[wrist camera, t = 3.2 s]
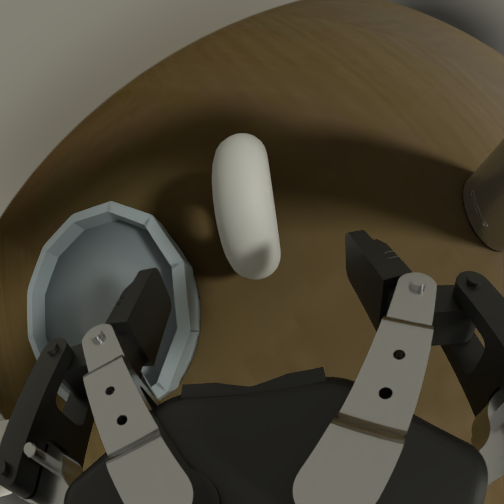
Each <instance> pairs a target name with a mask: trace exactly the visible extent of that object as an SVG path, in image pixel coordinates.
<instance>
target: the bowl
mask: <svg viewBox="0 0 504 504" xmlns="http://www.w3.org/2000/svg"><path fill="white" fill-rule="evenodd" d="M150 268H157V269H158V270H159V272H160V274H161V277H162V279H163V282H164V284H165V287H166V289H167V291H168V294H169V296H170V299H171V312H170V315H169V318H168V321H167V324H166V327H165V331H164V334H163V337H162V340H161V344H160V347H159V350H158V354H157V357H156V361H155V364H154V366H143V367H142V370H141V371H142V373H143V374H144V376H145V377H146V379H147V381H148V383H149V384H150V386H151V388H152V390H153V391H154V393H155V395H156V396H157V398H158V400H159V401H160V400H162V399H163V398H165V397H166V396H167V395H168V394H170V393H171V392H172V391H174V390H175V389H177V388H178V385H179V383H180V382H181V380H182V379H183V377H184V376H185V374H186V373H187V371H188V369H189V367H190V365H191V362H192V360H193V358H194V355H195V351H196V348H197V345H198V340H199V334H200V325H201V305H200V296H199V291H198V285H197V282H196V279H195V276H194V272H193V268H192V266H191V265H190V263H189V261H188V259H187V258H186V256H185V254H184V253H183V251H182V249H181V248H180V247H179V246H178V244H177V243H176V242H175V241H174V239H172V238H171V236H170V235H169V234H168V232H167V231H166V229H165V228H164V226H163V225H162V224H161V223H160V222H159V221H158V220H157V219H156V218H155V217H154V216H153V215H151V214H148V213H145V212H142V211H139V210H136V209H133V208H130V207H127V206H124V205H121V204H119V203H116V202H113V201H110V202H107V203H104V204H100V205H97V206H95V207H92V208H89V209H86V210H83V211H80V212H77V213H75V214H73V215H71V216H70V217H69V218H68V219H67V220H66V222H65V223H64V224H63V225H62V226H61V227H60V228H59V229H58V230H57V231H56V232H55V233H54V235H53V236H52V237H51V238H50V239H49V240H48V241H47V243H46V244H45V245H44V246H43V248H42V251H41V253H40V256H39V258H38V261H37V264H36V266H35V269H34V272H33V275H32V278H31V281H30V284H29V287H28V292H27V321H28V338H29V342H30V344H31V347H32V350H33V352H34V355H35V357H36V360H38V358H39V356H40V354H41V352H42V350H43V349H44V347H45V346H46V345H47V344H48V343H49V342H51V341H52V340H54V339H56V338H64V339H65V340H66V341H67V343H68V344H69V346H70V347H72V346H75V345H78V344H81V343H82V340H83V337H84V336H85V334H86V333H87V332H88V331H89V330H90V329H92V328H93V327H95V326H97V325H100V324H105V323H106V321H107V319H108V317H109V315H110V313H111V312H112V310H113V308H114V306H115V305H116V303H117V301H118V299H120V298H119V297H120V296H121V294H122V292H123V291H124V289H125V288H127V287H128V286H129V285H130V284H131V283H132V282H133V281H134V279H135V277H136V275H137V274H138V272H139V271H140V270H144V269H150ZM57 393H58V394H59V395H60V396H61V397H62V398H63V399H64V400H65V401H66V402H67V399H68V396H69V394H70V391H69V390H68V389H67V388H66V387H65V386H64V385H63V383H61V385H60V387H59V390H58V392H57Z"/></svg>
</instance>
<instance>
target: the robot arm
mask: <svg viewBox="0 0 504 504" xmlns="http://www.w3.org/2000/svg"><path fill="white" fill-rule="evenodd" d="M463 200H464V206H465V210H466V213H467V216H468V219H469V221H470V223H471V225H472V227H473V229H474V231H475V232H476V234H477V235H478V236H479V238H480V239H481V240H482V241H483V242H484V243H485V244H486V245H487V246H488V247H490V248H491V249H493V250H496V251H504V139H503V140H502V141H501V142H500V144H499V145H498V146H497V147H496V148H495V150H494V151H493V152H492V153H491V154H490V155H489V156H488V158H487V159H486V160H485V161H484V162H483V163H482V164H481V165H480V166H479V168H478V169H477V170H476V171H475V172H474V173H473V174H472V175H471V176H470V177H469V178H468V179H467V181H466V183H465V185H464V190H463ZM345 246H346V271H347V275H348V279H349V281H350V283H351V284H352V286H353V288H354V290H355V292H356V293H357V295H358V297H359V299H360V301H361V303H362V305H363V306H364V308H365V310H366V312H367V314H368V316H369V318H370V320H371V322H372V324H373V326H374V328H375V330H376V332H377V333H376V336H375V338H374V341H373V343H372V345H371V348H370V350H369V352H368V355H367V357H366V359H365V361H364V364H363V366H362V368H361V370H360V372H359V375H358V377H357V379H356V381H352V380H348V379H344V378H338V377H325V373H324V369H323V367H320V368H316V369H311V370H306V371H300V372H295V373H289V374H286V375H283V376H280V377H278V378H275V379H272V380H269V381H267V382H264V383H261V384H258V385H255V386H250V387H247V386H237V385H228V384H221V383H205V384H187V385H183V387H182V393H181V395H179V396H176V397H173V398H171V399H169V400H167V401H164V402H163V403H160V401H159V400H158V398H157V396H156V395H155V393H154V391H153V390H152V388H151V386H150V384H149V383H148V381H147V379H146V377H145V376H144V374H143V373H142V371H141V370H142V367H143V366H154V364H155V361H156V357H157V354H158V350H159V347H160V344H161V340H162V337H163V334H164V331H165V327H166V324H167V321H168V318H169V315H170V312H171V299H170V296H169V294H168V291H167V289H166V287H165V284H164V282H163V279H162V277H161V274H160V272H159V270H158V269H157V268H150V269H144V270H140V271H139V272H138V274H137V275H136V277H135V279H134V281H133V282H132V283H131V284H130V285H129V286H128V287H127V288H125V289H124V291H123V292H122V294H121V296H120V297H119V298H120V299H118V301H117V303H116V305H115V306H114V308H113V310H112V312H111V313H110V315H109V317H108V319H107V321H106V323H105V324H100V325H97V326H95V327H93V328H92V329H90V330H89V331H88V332H87V333H86V334H85V336H84V337H83V340H82V343H81V344H78V345H75V346H72V347H70V346H69V344H68V343H67V341H66V340H65V339H64V338H56V339H54V340H52V341H51V342H49V343H48V344H47V345H46V346H45V347H44V349H43V350H42V352H41V354H40V356H39V358H38V360H37V361H36V363H35V365H34V367H33V369H32V371H31V373H30V375H29V377H28V379H27V381H26V383H25V385H24V387H23V389H22V391H21V394H20V396H19V398H18V400H17V402H16V405H15V407H14V409H13V412H12V414H11V417H10V419H9V422H8V424H7V427H6V429H5V432H4V435H3V438H2V441H1V443H0V485H1V486H2V487H4V488H5V489H7V490H9V491H10V492H12V493H14V494H16V495H18V496H19V497H20V498H22V499H23V500H25V501H27V502H29V503H31V504H484V499H485V495H486V490H487V485H488V484H490V483H491V482H493V481H494V480H496V479H497V478H499V477H500V476H502V475H503V474H504V297H503V296H502V295H501V294H500V293H499V292H498V291H497V290H496V288H495V287H494V286H493V285H492V284H491V283H490V282H489V281H488V280H487V279H486V278H485V277H484V276H482V275H481V274H479V273H476V272H472V271H465V272H462V273H460V274H459V275H458V276H457V278H456V282H455V285H441V286H438V285H436V283H435V281H434V280H433V279H432V278H431V277H429V276H428V275H425V274H422V273H413V272H412V271H411V270H410V269H409V268H408V267H407V266H406V264H405V263H404V262H403V261H402V260H401V259H400V258H399V257H398V256H397V255H396V253H395V252H393V250H392V249H391V248H390V247H389V246H388V245H387V244H386V243H384V242H382V241H380V240H377V239H376V240H373V239H372V238H371V237H370V236H369V235H368V234H367V233H366V232H365V231H364V230H360V231H355V232H349V233H346V236H345ZM475 328H477V329H478V331H479V332H480V334H481V335H482V337H483V339H484V342H485V348H484V347H483V345H482V344H481V342H480V341H479V339H478V337H477V336H476V334H475V333H474V331H475ZM434 345H441V347H442V349H443V351H444V352H445V354H446V356H447V358H448V360H449V362H450V364H451V366H452V368H453V370H454V372H455V374H456V376H457V378H458V380H459V382H460V384H461V386H462V388H463V390H464V392H465V394H466V397H467V399H468V401H469V403H470V406H471V408H472V410H473V413H474V415H475V419H474V422H473V425H472V438H471V442H472V444H473V446H472V445H471V444H469V443H467V442H465V441H463V440H461V439H459V438H457V437H455V436H453V435H451V434H449V433H448V432H446V431H444V430H442V429H440V428H438V427H436V426H434V425H432V424H430V423H429V422H427V421H425V420H423V419H421V418H419V417H418V416H416V415H414V414H413V413H414V410H415V407H416V404H417V400H418V397H419V394H420V390H421V386H422V383H423V379H424V375H425V371H426V366H427V362H428V357H429V353H430V347H431V346H434ZM61 383H63V385H64V386H65V387H66V388H67V389H68V390H69V391H70V394H69V396H68V399H67V402H66V405H65V407H64V410H63V413H62V412H61V411H60V410H59V409H58V408H57V405H56V402H55V398H56V395H57V392H58V390H59V387H60V385H61ZM94 419H95V422H96V425H97V428H98V431H99V434H100V437H101V439H102V442H103V445H104V447H105V450H106V453H105V454H104V455H103V456H101V457H100V458H99V459H98V460H97V461H96V462H95V463H93V464H92V465H91V466H90V467H89V468H88V469H87V470H85V471H84V472H83V470H82V468H83V463H84V458H85V454H86V450H87V446H88V441H89V437H90V433H91V430H92V426H93V422H94Z"/></svg>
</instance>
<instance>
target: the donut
mask: <svg viewBox="0 0 504 504" xmlns="http://www.w3.org/2000/svg"><path fill="white" fill-rule="evenodd" d="M212 192H213V203H214V210H215V217H216V223H217V227H218V232H219V236H220V241H221V244H222V247H223V250H224V253H225V256H226V258H227V259H228V261H229V263H230V265H231V266H232V268H233V269H234V271H235V272H237V273H238V274H239V275H240V276H243V277H246V278H248V279H257V280H259V279H263V278H266V277H268V276H269V275H271V274H272V273H273V272H274V271H275V270H276V268H277V267H278V265H279V262H280V254H281V251H280V243H279V235H278V227H277V219H276V211H275V204H274V197H273V190H272V183H271V176H270V169H269V163H268V156H267V152H266V149H265V146H264V145H263V143H262V142H261V141H260V140H259V139H258V138H256V137H255V136H253V135H250V134H247V133H238V134H234V135H231V136H229V137H228V138H226V139H225V140H224V141H222V142H221V143H220V145H219V146H218V148H217V149H216V152H215V156H214V160H213V165H212Z"/></svg>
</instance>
